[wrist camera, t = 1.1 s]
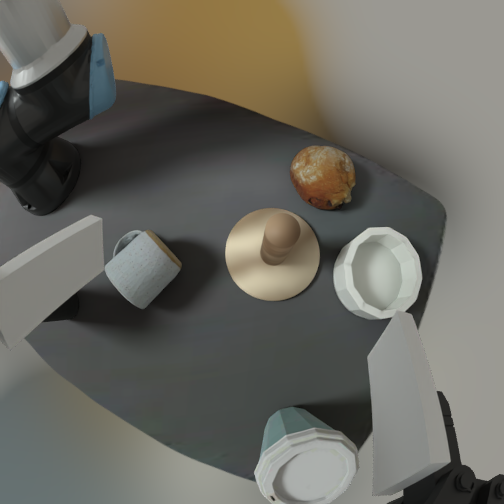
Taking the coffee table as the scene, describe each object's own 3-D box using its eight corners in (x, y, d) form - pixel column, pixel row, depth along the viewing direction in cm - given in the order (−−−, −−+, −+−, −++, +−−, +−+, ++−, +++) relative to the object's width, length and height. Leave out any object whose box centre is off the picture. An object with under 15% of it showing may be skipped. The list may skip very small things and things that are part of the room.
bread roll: (337, 172, 46) (342, 132, 40) (363, 211, 40) (374, 168, 34) (283, 179, 46) (283, 137, 39) (302, 221, 39) (306, 176, 33)
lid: (208, 241, 39) (194, 213, 28) (282, 194, 41) (294, 154, 30) (260, 319, 37) (266, 320, 26) (335, 265, 39) (366, 246, 28)
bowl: (316, 267, 38) (326, 259, 34) (374, 223, 40) (388, 212, 35) (362, 335, 36) (378, 336, 31) (415, 285, 38) (433, 281, 33)
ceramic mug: (191, 270, 38) (177, 257, 30) (151, 311, 36) (129, 308, 29) (144, 221, 40) (124, 200, 32) (107, 260, 38) (81, 247, 31)
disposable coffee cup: (307, 380, 35) (343, 414, 20) (337, 435, 33) (379, 483, 18) (238, 414, 33) (234, 466, 19) (272, 467, 31) (285, 529, 17)
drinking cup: (57, 274, 37) (-32, 242, 18) (91, 288, 37) (-4, 262, 17) (47, 317, 35) (-45, 307, 16) (79, 335, 35) (-17, 336, 16)
